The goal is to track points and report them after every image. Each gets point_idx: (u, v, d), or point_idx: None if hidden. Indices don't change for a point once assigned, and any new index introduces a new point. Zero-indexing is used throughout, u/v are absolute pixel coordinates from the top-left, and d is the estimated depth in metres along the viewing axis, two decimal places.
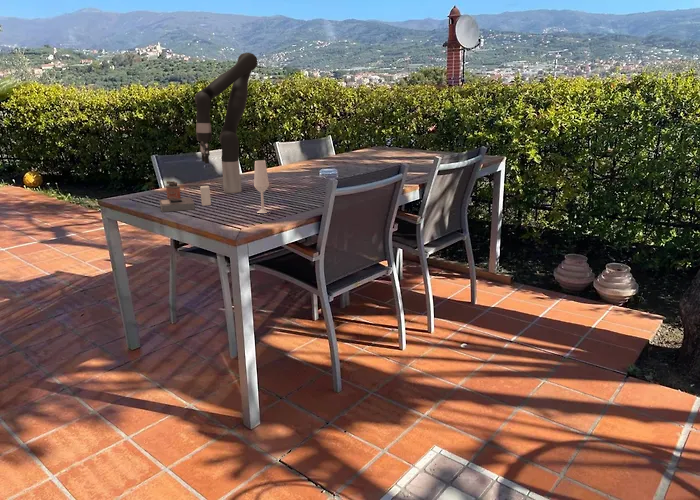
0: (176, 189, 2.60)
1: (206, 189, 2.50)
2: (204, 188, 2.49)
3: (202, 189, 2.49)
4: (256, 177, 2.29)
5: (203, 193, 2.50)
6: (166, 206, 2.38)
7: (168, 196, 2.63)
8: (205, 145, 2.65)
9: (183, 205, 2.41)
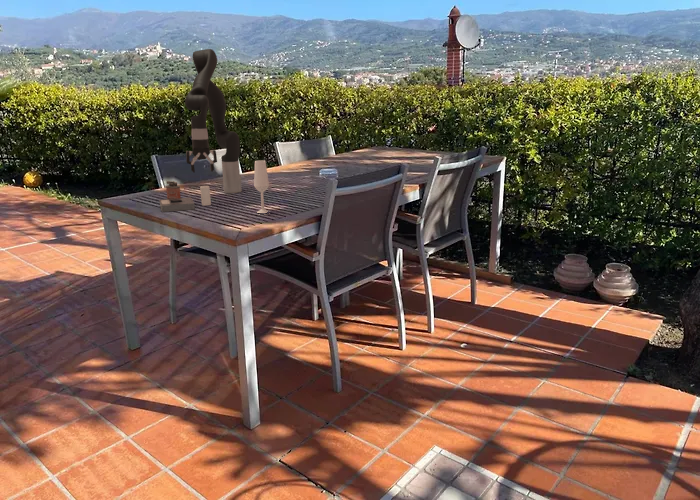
0: (176, 189, 2.60)
1: (206, 189, 2.50)
2: (204, 188, 2.49)
3: (202, 189, 2.49)
4: (256, 177, 2.29)
5: (203, 193, 2.50)
6: (166, 206, 2.38)
7: (168, 196, 2.63)
8: (215, 151, 2.48)
9: (183, 205, 2.41)
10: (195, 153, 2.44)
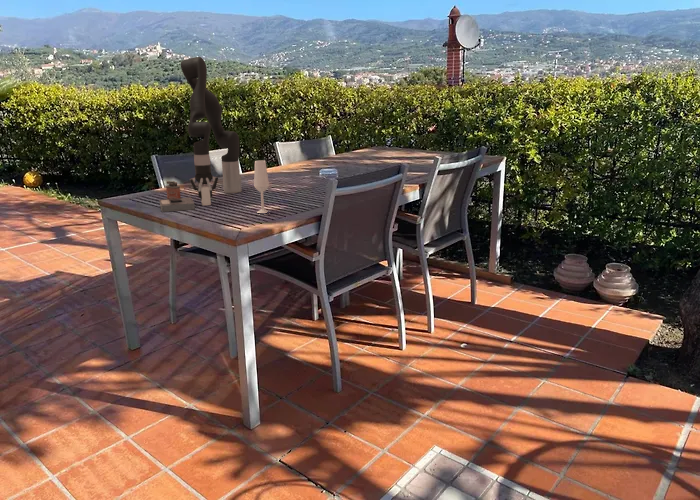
0: (176, 189, 2.60)
1: (206, 189, 2.50)
2: (204, 188, 2.49)
3: (202, 189, 2.49)
4: (256, 177, 2.29)
5: (203, 193, 2.50)
6: (166, 206, 2.38)
7: (168, 196, 2.63)
8: None
9: (183, 205, 2.41)
10: (198, 180, 2.48)
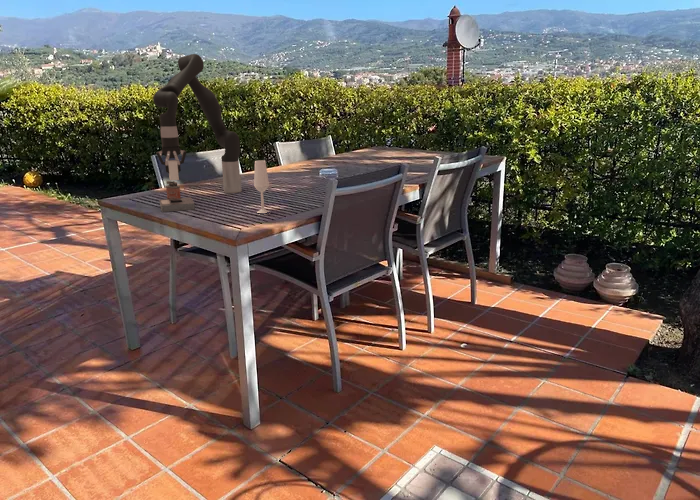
0: (176, 189, 2.60)
1: (174, 163, 2.39)
2: (171, 162, 2.39)
3: (169, 163, 2.39)
4: (256, 177, 2.29)
5: (170, 167, 2.39)
6: (166, 206, 2.38)
7: (168, 196, 2.63)
8: (185, 152, 2.41)
9: (183, 205, 2.41)
10: (165, 153, 2.37)
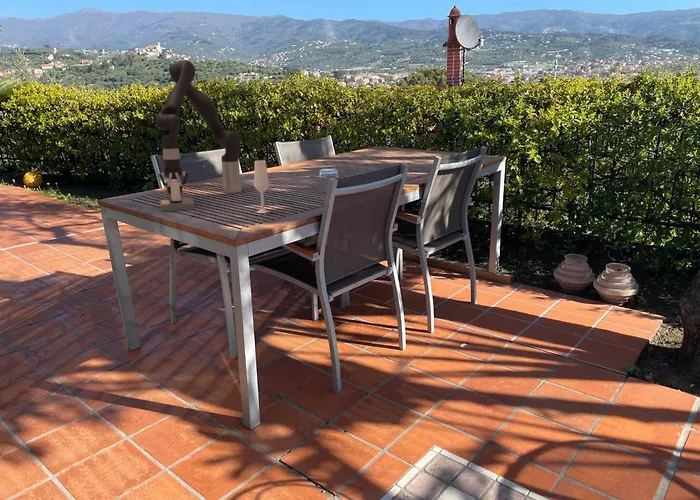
0: None
1: (176, 184, 2.42)
2: (173, 183, 2.42)
3: (171, 184, 2.42)
4: (256, 177, 2.29)
5: (172, 188, 2.42)
6: (166, 206, 2.38)
7: (168, 196, 2.63)
8: (187, 174, 2.44)
9: (183, 205, 2.41)
10: (167, 174, 2.41)
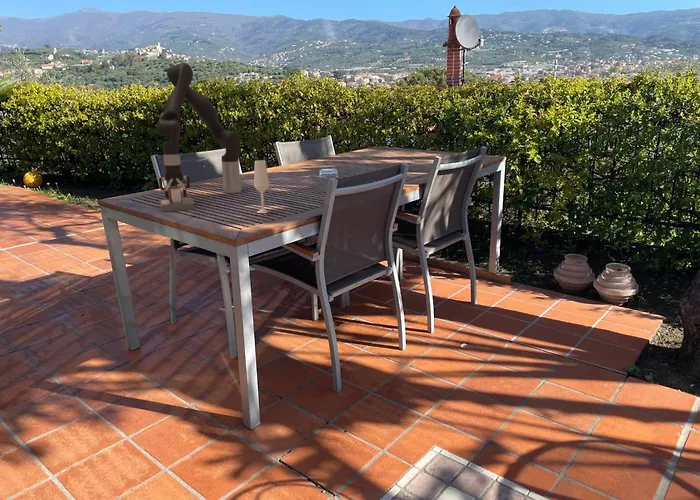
0: None
1: (177, 192, 2.44)
2: (174, 191, 2.43)
3: (172, 192, 2.43)
4: (256, 177, 2.29)
5: (174, 196, 2.43)
6: (166, 206, 2.38)
7: None
8: (188, 177, 2.45)
9: (183, 205, 2.41)
10: (168, 179, 2.41)
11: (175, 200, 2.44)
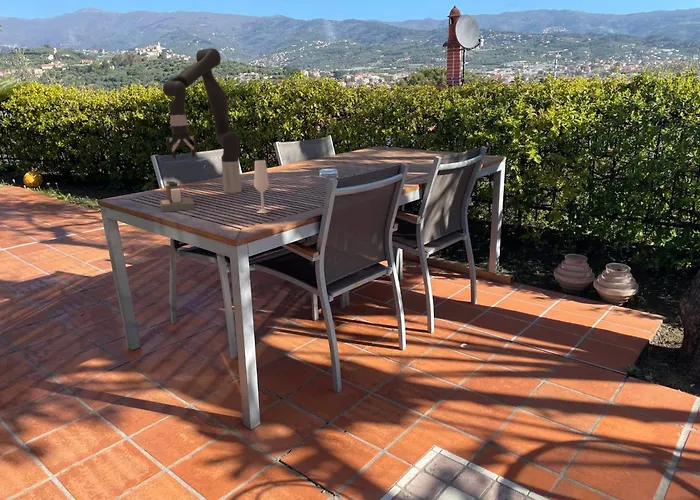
0: None
1: (177, 192, 2.44)
2: (174, 191, 2.43)
3: (172, 192, 2.43)
4: (256, 177, 2.29)
5: (173, 196, 2.43)
6: (166, 206, 2.38)
7: (168, 196, 2.63)
8: (195, 137, 2.50)
9: (183, 205, 2.41)
10: (175, 140, 2.46)
11: (175, 200, 2.44)
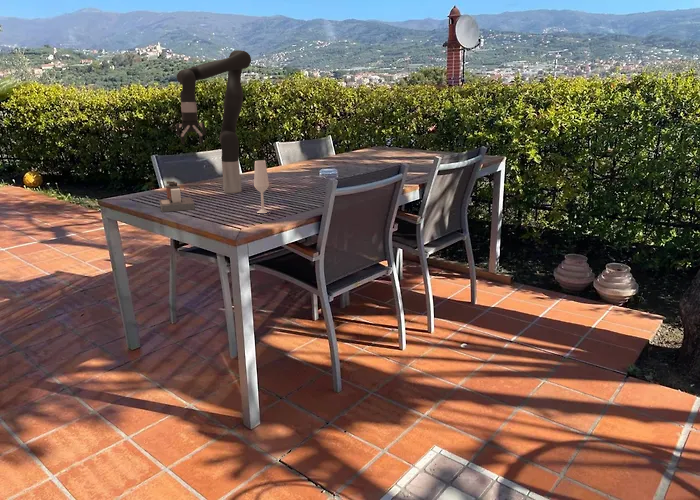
0: None
1: (177, 192, 2.44)
2: (174, 191, 2.43)
3: (172, 192, 2.43)
4: (256, 177, 2.29)
5: (174, 196, 2.43)
6: (166, 206, 2.38)
7: (168, 196, 2.63)
8: (204, 124, 2.61)
9: (183, 205, 2.41)
10: (185, 125, 2.57)
11: (175, 200, 2.44)
